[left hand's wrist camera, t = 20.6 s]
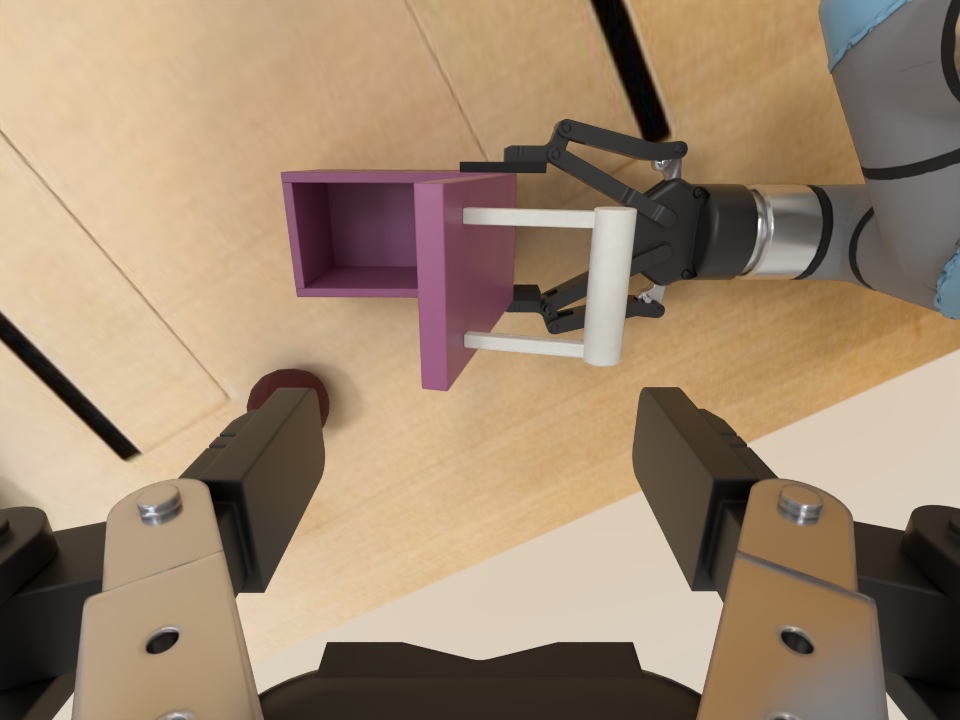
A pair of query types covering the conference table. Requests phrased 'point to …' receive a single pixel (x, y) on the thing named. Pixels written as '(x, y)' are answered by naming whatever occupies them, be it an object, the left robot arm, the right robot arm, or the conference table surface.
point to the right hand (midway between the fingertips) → (461, 232)
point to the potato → (288, 380)
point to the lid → (506, 274)
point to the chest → (355, 230)
